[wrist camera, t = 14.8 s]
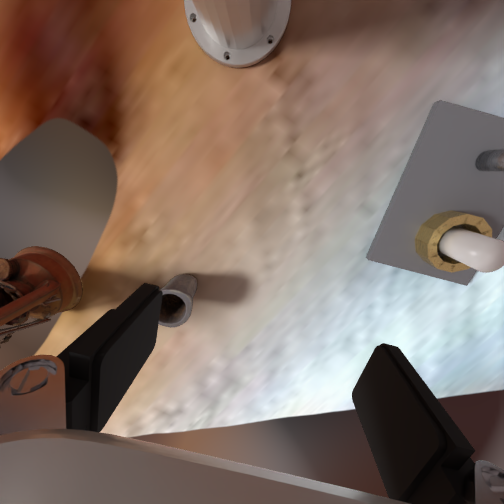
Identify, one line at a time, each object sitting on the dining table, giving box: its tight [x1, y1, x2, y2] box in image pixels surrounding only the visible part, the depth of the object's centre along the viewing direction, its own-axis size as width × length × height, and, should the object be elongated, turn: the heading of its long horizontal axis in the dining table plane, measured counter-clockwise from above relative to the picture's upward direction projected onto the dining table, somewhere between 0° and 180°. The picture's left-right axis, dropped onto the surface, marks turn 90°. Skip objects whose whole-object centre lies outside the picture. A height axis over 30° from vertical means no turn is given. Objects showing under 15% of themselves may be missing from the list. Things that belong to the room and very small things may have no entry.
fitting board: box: [366, 100, 504, 286], centre depth 34 cm, size 22×16×1 cm
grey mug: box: [158, 274, 197, 327], centre depth 38 cm, size 6×13×8 cm, turn 125°
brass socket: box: [415, 210, 492, 272], centre depth 34 cm, size 8×8×3 cm
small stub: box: [475, 149, 504, 171], centre depth 29 cm, size 3×3×5 cm
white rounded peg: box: [437, 226, 504, 272], centre depth 31 cm, size 4×4×8 cm
